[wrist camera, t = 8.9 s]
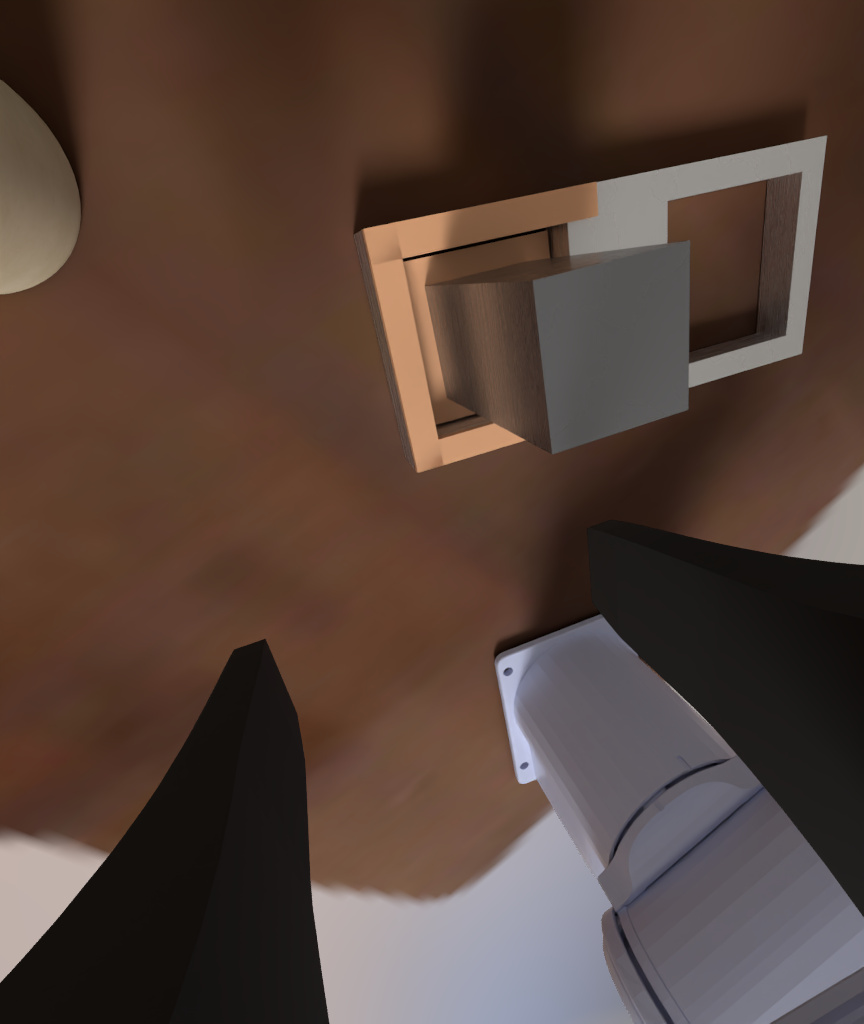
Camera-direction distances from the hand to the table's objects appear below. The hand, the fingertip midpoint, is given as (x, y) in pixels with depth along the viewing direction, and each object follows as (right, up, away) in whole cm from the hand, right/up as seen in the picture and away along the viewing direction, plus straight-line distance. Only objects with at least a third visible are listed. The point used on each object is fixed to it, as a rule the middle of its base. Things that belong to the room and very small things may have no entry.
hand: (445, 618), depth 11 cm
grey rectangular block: (+2, +9, +8) cm, 12 cm away
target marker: (+2, +9, +9) cm, 13 cm away
